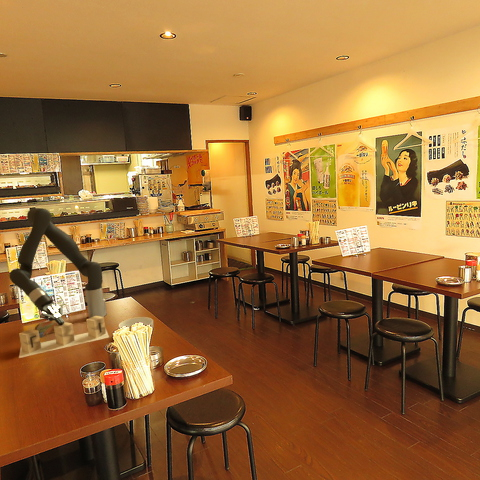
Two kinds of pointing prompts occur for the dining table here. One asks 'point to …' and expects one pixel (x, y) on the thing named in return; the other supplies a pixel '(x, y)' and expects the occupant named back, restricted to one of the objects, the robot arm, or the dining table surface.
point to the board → (53, 345)
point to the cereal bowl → (134, 320)
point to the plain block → (64, 333)
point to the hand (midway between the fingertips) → (62, 323)
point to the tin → (46, 328)
